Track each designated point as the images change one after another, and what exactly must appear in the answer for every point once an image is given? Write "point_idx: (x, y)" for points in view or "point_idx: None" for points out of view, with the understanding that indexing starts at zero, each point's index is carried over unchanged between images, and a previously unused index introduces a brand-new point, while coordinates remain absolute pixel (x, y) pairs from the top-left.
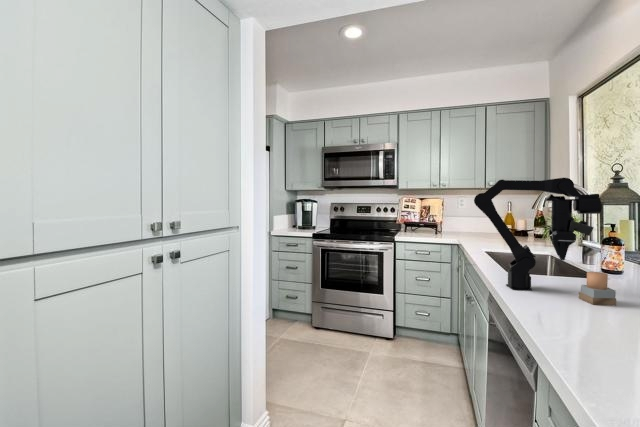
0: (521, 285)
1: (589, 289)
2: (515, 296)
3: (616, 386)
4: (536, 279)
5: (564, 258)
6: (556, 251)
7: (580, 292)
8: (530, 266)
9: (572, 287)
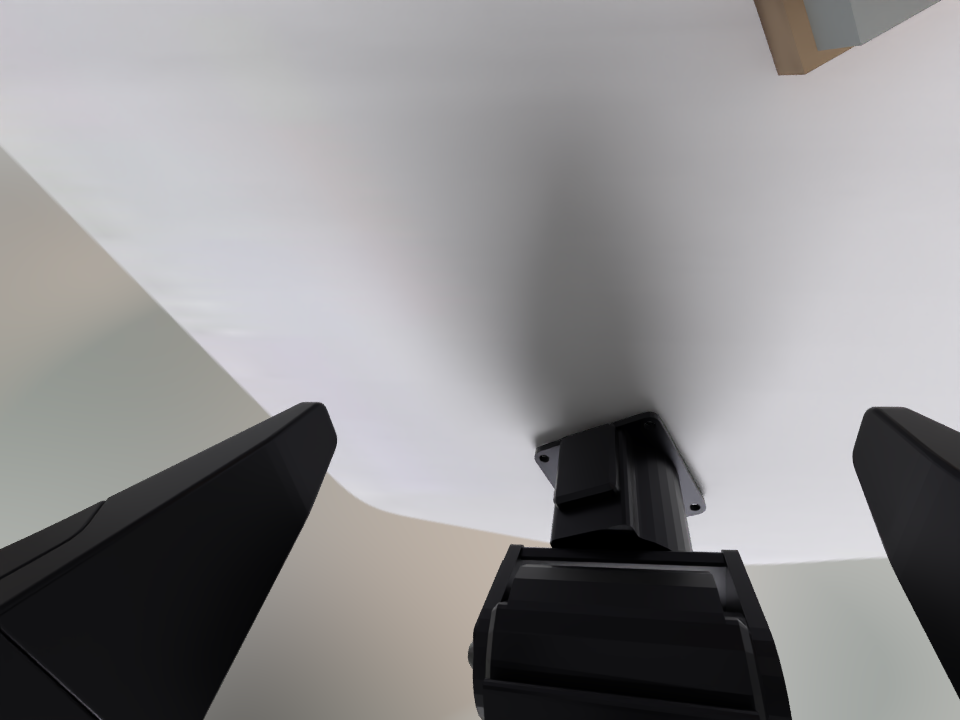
0: (679, 489)
1: None
2: None
3: None
4: (275, 374)
5: (941, 433)
6: (303, 515)
7: (830, 55)
8: (761, 613)
9: (340, 143)
